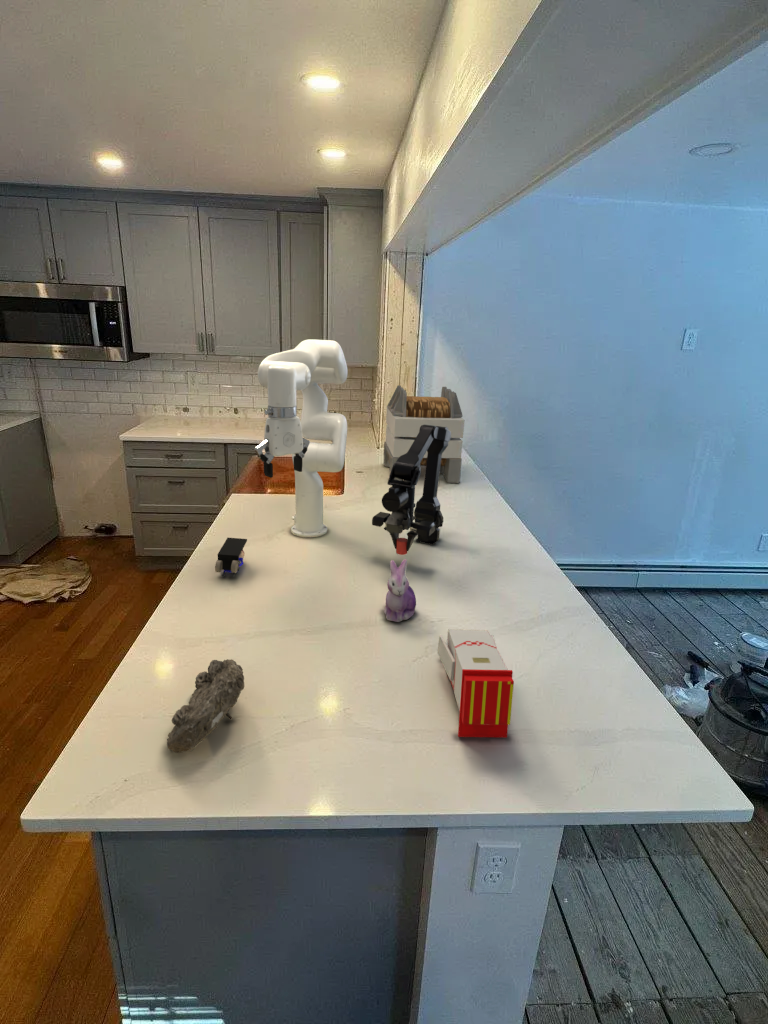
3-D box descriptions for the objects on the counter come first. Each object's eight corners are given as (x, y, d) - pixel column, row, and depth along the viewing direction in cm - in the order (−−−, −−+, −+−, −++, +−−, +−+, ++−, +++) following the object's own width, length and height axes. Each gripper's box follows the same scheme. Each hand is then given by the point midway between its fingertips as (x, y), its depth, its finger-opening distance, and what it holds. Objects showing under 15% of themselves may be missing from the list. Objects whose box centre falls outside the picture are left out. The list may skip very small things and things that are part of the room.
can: (409, 553, 174) (410, 540, 173) (400, 555, 172) (400, 542, 171) (403, 549, 177) (404, 536, 175) (394, 551, 175) (394, 538, 174)
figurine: (392, 627, 141) (395, 572, 136) (374, 608, 149) (376, 556, 144) (425, 619, 145) (429, 566, 140) (405, 601, 154) (408, 550, 149)
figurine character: (238, 584, 162) (249, 557, 175) (236, 562, 158) (247, 536, 172) (215, 584, 161) (227, 556, 175) (212, 561, 158) (225, 535, 171)
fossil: (192, 660, 117) (244, 628, 112) (224, 691, 120) (276, 661, 115) (142, 746, 98) (202, 712, 93) (182, 779, 101) (242, 748, 96)
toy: (488, 613, 130) (523, 677, 101) (484, 667, 133) (517, 744, 104) (435, 612, 130) (455, 676, 101) (432, 666, 133) (451, 743, 103)
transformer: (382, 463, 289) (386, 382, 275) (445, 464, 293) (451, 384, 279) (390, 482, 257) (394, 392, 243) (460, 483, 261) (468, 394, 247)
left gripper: (262, 417, 144) (264, 482, 150) (316, 411, 155) (316, 471, 161) (246, 413, 149) (249, 475, 155) (300, 407, 161) (301, 466, 166)
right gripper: (364, 504, 166) (363, 552, 171) (424, 515, 158) (420, 566, 164) (380, 493, 175) (378, 540, 180) (437, 504, 168) (433, 552, 173)
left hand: (283, 473), depth 158 cm, fingers open, 9 cm apart
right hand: (401, 549), depth 174 cm, fingers closed on can, 3 cm apart
